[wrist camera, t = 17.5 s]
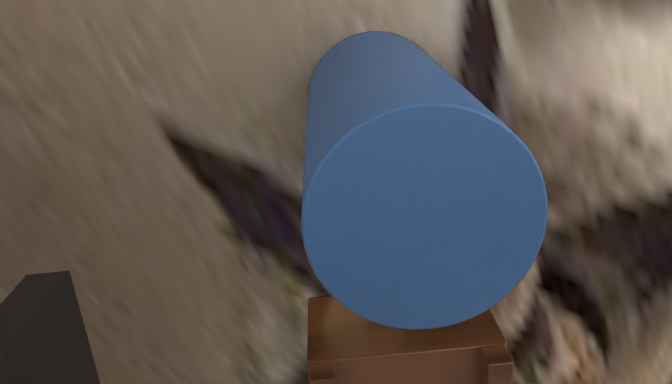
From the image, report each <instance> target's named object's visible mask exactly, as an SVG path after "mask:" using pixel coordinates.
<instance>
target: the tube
mask: <svg viewBox="0 0 672 384" xmlns="http://www.w3.org/2000/svg"><path fill="white" fill-rule="evenodd" d="M547 214H548V208H547V194H546V188H545V183H544V180H543V177H542V174H541V171H540V168H539V166H538V164H537V162H536V160H535V159H534V157H533V155H532V153H531V152H530V151H529V149H528V148H527V146H526V145H525V144H524V142H523V141H522V140H521V139H520V138H519V137H518V136H517V135H516V134H515V133H514V132H513V131H512V130H511V129H510V128H509V127H507V126H506V125H505V124H504V123H503V122H502V121H501V120H500V119H499V118H497V117H496V116H495V115H494V114H493V113H492V112H491V111H490V110H489V109H487V108H486V107H485V106H484V105H483V104H482V103H481V102H480V101H479V100H477V99H476V98H475V97H474V96H473V95H472V94H471V93H470V92H469V91H468V90H466V89H465V88H464V87H463V86H462V85H461V84H460V83H459V82H458V81H456V80H455V79H454V78H453V77H452V76H451V75H450V74H449V73H448V72H446V71H445V70H444V69H443V68H442V67H441V66H440V65H439V64H438V63H436V62H435V61H434V60H433V59H432V58H431V57H430V56H429V55H428V54H427V53H425V52H424V51H423V50H422V49H421V48H420V47H419V46H417V45H416V44H415V43H413V42H412V41H410V40H408V39H406V38H404V37H402V36H399V35H397V34H393V33H389V32H380V31H375V32H365V33H360V34H357V35H353V36H351V37H349V38H346V39H344V40H343V41H341V42H339V43H338V44H336V45H335V46H334V47H333V48H331V49H330V50H329V51H328V52H327V53H326V54H325V55H324V56H323V58H322V59H321V61H320V62H319V63H318V65H317V67H316V69H315V71H314V73H313V75H312V78H311V81H310V85H309V91H308V104H307V123H306V142H305V161H304V180H303V199H302V218H301V223H302V237H303V243H304V248H305V251H306V254H307V257H308V260H309V263H310V265H311V267H312V269H313V271H314V273H315V275H316V276H317V278H318V279H319V281H320V282H321V283H322V285H323V286H324V288H325V289H326V290H327V291H328V292H329V293H330V294H331V295H332V296H333V297H334V298H335V299H336V300H337V301H338V302H340V303H341V304H342V305H343V306H345V307H346V308H347V309H349V310H351V311H352V312H354V313H355V314H357V315H359V316H361V317H363V318H365V319H367V320H370V321H372V322H375V323H378V324H381V325H385V326H389V327H394V328H400V329H412V330H418V329H433V328H440V327H446V326H450V325H453V324H457V323H460V322H463V321H465V320H468V319H471V318H473V317H475V316H477V315H479V314H481V313H483V312H485V311H487V310H488V309H490V308H491V307H493V306H494V305H496V304H497V303H499V302H500V301H501V300H502V299H503V298H505V297H506V296H507V295H508V294H509V293H510V292H511V291H512V290H513V289H514V288H515V287H516V286H517V285H518V284H519V283H520V282H521V280H522V279H523V278H524V276H525V275H526V274H527V272H528V271H529V269H530V268H531V266H532V264H533V262H534V260H535V259H536V257H537V255H538V252H539V249H540V247H541V244H542V242H543V238H544V234H545V230H546V223H547Z"/></svg>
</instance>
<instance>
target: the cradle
mask: <svg viewBox="0 0 672 384" xmlns="http://www.w3.org/2000/svg"><path fill="white" fill-rule="evenodd" d="M307 366H308V373H309V383H310V384H513V361H512V359H511V357H510V355H509V353H508V351H507V343H506V341H505V339H504V337H503V335H502V333H501V331H500V329H499V327H498V325H497V323H496V321H495V319H494V317H493V314H492V312H491V310H490V309H488V310H487V311H485V312H483V313H481V314H479V315H477V316H475V317H473V318H471V319H468V320H465V321H463V322H460V323H457V324H453V325H450V326H446V327H440V328H433V329H418V330H412V329H400V328H394V327H389V326H385V325H381V324H378V323H375V322H372V321H370V320H367V319H365V318H363V317H361V316H359V315H357V314H355V313H354V312H352V311H351V310H349V309H347V308H346V307H345V306H343V305H342V304H341V303H340V302H338V301H337V300H336V299H335V298H334V297H333V296H328V297H317V298H309V300H308V345H307Z"/></svg>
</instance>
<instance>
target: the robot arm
mask: <svg viewBox="0 0 672 384" xmlns="http://www.w3.org/2000/svg"><path fill="white" fill-rule="evenodd" d="M0 384H100V381H99V377H98V374H97V370H96V367H95V363H94V359H93V356H92V352H91V348H90V345H89V341H88V337H87V334H86V330H85V326H84V323H83V319H82V315H81V312H80V308H79V304H78V301H77V297H76V293H75V290H74V286H73V282H72V279H71V275H70V271H62V272H52V273H42V274H32V275H26V276H25V277H24V278H23V280H22V281H21V282H20V283H19V284H18V285H17V286H16V288H15V289H14V290H13V291H12V292H11V293H10V294H9V295H8V297H7V298H6V299H5V300H4V301H3V302H2V303H1V305H0Z"/></svg>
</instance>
